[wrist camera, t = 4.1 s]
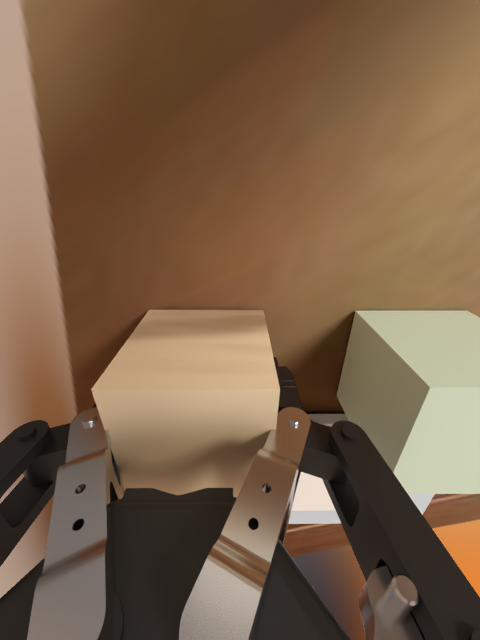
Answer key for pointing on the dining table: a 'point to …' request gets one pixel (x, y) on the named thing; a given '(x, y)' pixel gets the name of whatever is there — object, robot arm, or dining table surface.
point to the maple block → (190, 399)
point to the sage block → (418, 395)
